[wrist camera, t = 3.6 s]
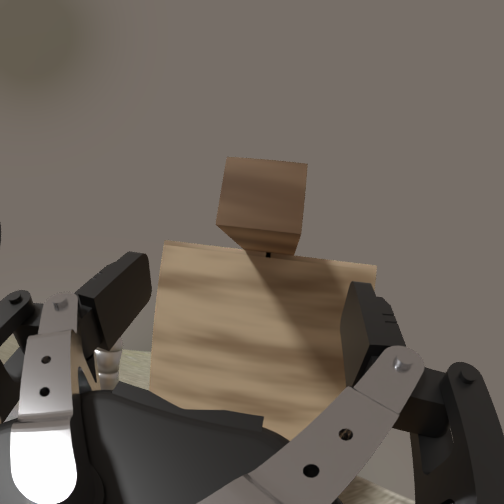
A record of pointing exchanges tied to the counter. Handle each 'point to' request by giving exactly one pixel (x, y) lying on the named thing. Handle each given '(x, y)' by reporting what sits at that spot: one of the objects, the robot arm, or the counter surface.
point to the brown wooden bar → (263, 204)
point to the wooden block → (251, 332)
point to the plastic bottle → (109, 365)
